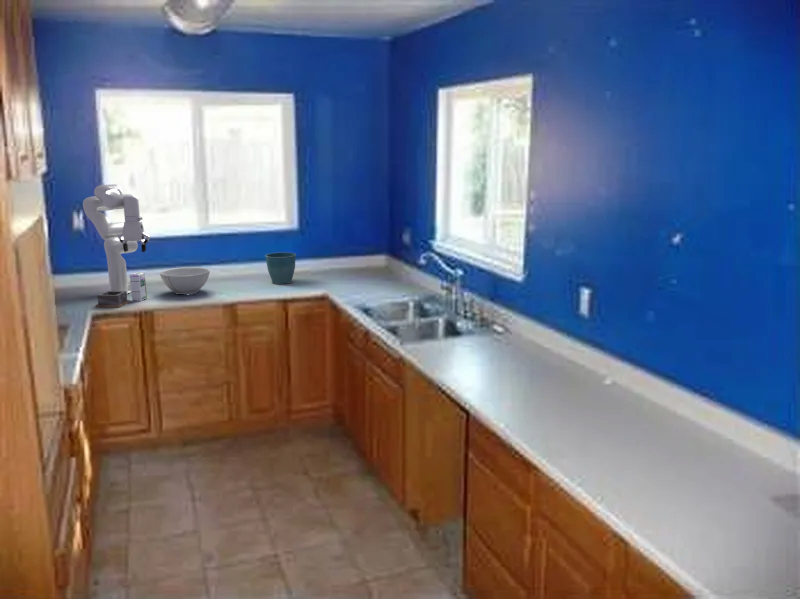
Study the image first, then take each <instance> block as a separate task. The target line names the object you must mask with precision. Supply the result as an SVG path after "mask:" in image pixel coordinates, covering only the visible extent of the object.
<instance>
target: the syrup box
mask: <svg viewBox="0 0 800 599" xmlns="http://www.w3.org/2000/svg"><path fill="white" fill-rule="evenodd" d="M129 282H130V283H129V284H130V290H131V293H130V294H131V301H133V300H137V301H136V302H142V301H144V299H145V300H147V299H148V293H147V287H146V286H147V283H146V275H145V272H134V273H131V274H129ZM146 298H147V299H146Z"/></svg>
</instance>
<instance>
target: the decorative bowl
mask: <svg viewBox="0 0 800 599" xmlns="http://www.w3.org/2000/svg"><path fill="white" fill-rule="evenodd" d="M210 272H211V270H210V269H208V268H205V267H191V266H190V267H175V268H169V269H165V270H162V271H160V272H159V275H160V278H161V280H162V282H163V284H164V285H165V286H166V287H167V288H168V289H169V290H171V291H172V292H174V294H175V293H176V294H175V295H177V294H191V295H194V294H193V293H195V294H197V293H199V290H201V289H202V288H203V287H204V286H205V284H206V283H207V282H208V279H209V277H210Z"/></svg>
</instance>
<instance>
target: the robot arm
mask: <svg viewBox="0 0 800 599" xmlns="http://www.w3.org/2000/svg"><path fill="white" fill-rule="evenodd" d="M93 190H94V192H93V194H94V195H93V196H88V197H85V199H84V200H83V201H82V208H83V212H84V214H85V216H86V217H87V219H88V220H89V221H91V222H92V224H93V225H94V228H95V229H96V231H97V232H98V234H99V235H100V237H101V239H102V240H104V242H103V247H104V248H103V249H104V252H105V255H106V256H105V257H106V262H107V273H108V274H107V275H108V284H109V290H108V291H126V292H127V295H129V294H131V288H130V289H129V287H131V284H130V283H129V282H128V272H127V262H126V259H125V258H124V257H123V256H122V254H129V253H134V252H136V251H137V250H138V246H139V245H138V242H140V243H141V245H140V246H141V252H142V253H145V252H146V251H147V245H146V244H147V243H148V242H149V241H150V238H151V236H150V235H149V234H147V233H145V230H144V225H143V222H142V220H143V217H142V216H141V215H140V205H139V197H138V196H137V195H133V194H131V193H130V194H129V193H123V189H122V187H121V186H120V185H119V184H116V183H113V184H99V185H97V186H96V187H95V188H94V189H93ZM113 210H123V214H124V222H121V221H120V222H119V221H118V222H111V220H110V218H109V217H108V216H107V215H106V214H104V213H103V212H104V211H105V212H106V211H113ZM128 293H129V294H128Z"/></svg>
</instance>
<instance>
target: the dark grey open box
mask: <svg viewBox="0 0 800 599" xmlns="http://www.w3.org/2000/svg"><path fill="white" fill-rule="evenodd" d="M127 296H128V294H127V292H126V291H109V290H105V291H104V292H101V293H99V294H97V304H95V307H96V306H99V307H98V308H116V309H117V308H121V307H123V306H125V305H127V304H129V303H130V302H131V299H128V297H127Z"/></svg>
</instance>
